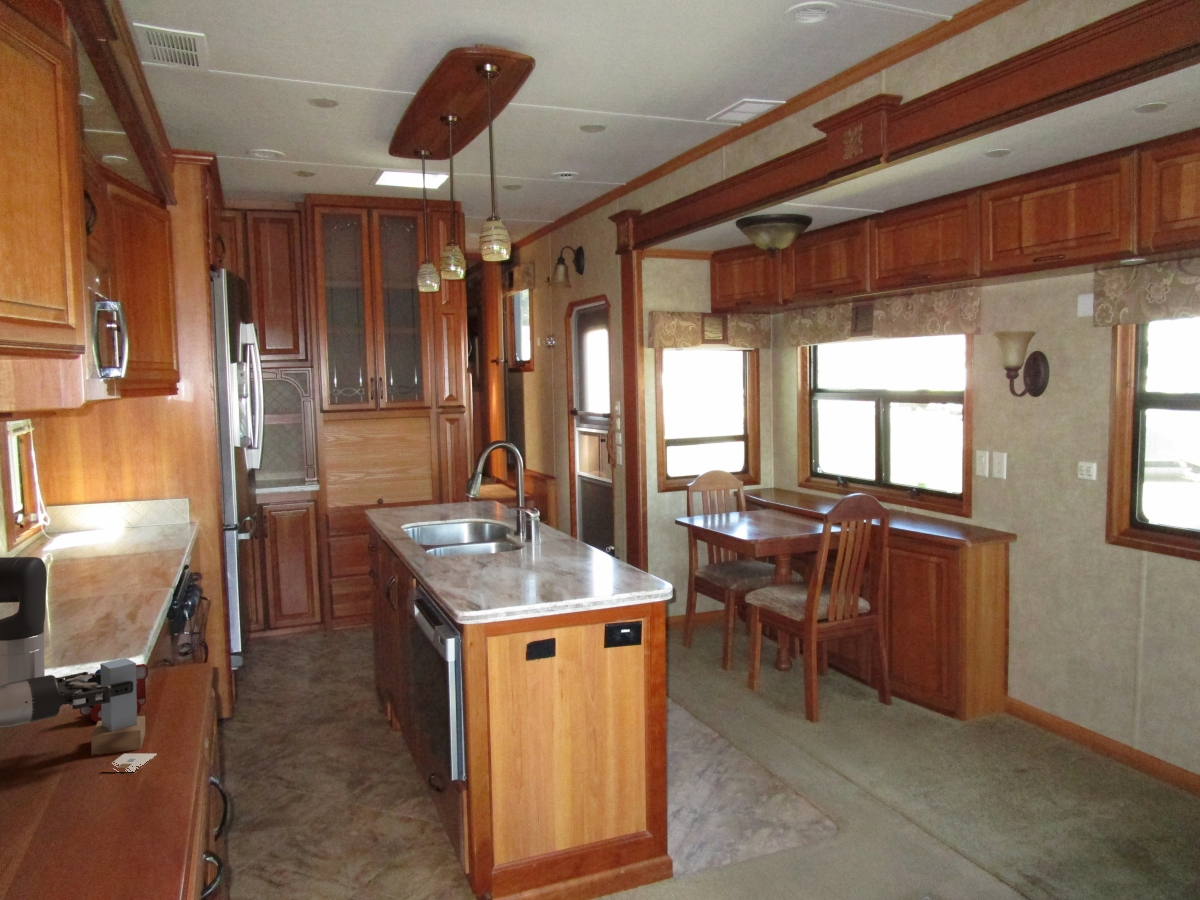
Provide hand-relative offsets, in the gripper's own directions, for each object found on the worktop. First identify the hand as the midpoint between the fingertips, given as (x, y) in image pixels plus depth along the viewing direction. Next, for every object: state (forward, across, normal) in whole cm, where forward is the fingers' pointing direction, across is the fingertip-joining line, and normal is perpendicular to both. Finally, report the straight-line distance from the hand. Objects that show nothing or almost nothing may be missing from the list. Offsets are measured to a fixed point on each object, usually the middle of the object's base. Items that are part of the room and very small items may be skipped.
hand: (124, 680), depth 159 cm
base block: (-1, 0, +12) cm, 12 cm away
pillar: (-1, 0, +8) cm, 8 cm away
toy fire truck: (+3, +17, +12) cm, 21 cm away
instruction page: (-3, -11, +12) cm, 17 cm away
